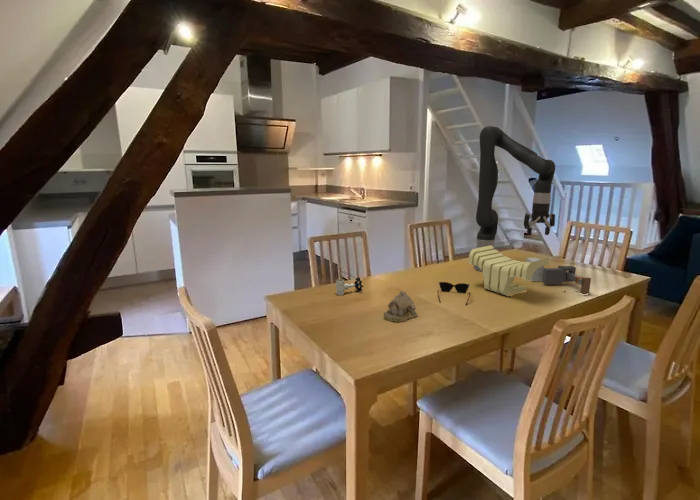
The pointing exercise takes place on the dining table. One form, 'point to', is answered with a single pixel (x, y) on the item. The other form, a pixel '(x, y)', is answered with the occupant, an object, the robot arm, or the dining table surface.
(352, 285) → the valve
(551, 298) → the dining table surface
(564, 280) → the collar
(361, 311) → the dining table surface
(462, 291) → the sunglasses
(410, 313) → the ceramic model
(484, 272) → the slatted curved stool
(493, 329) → the dining table surface
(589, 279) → the brown l-shaped piece
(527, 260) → the small box
